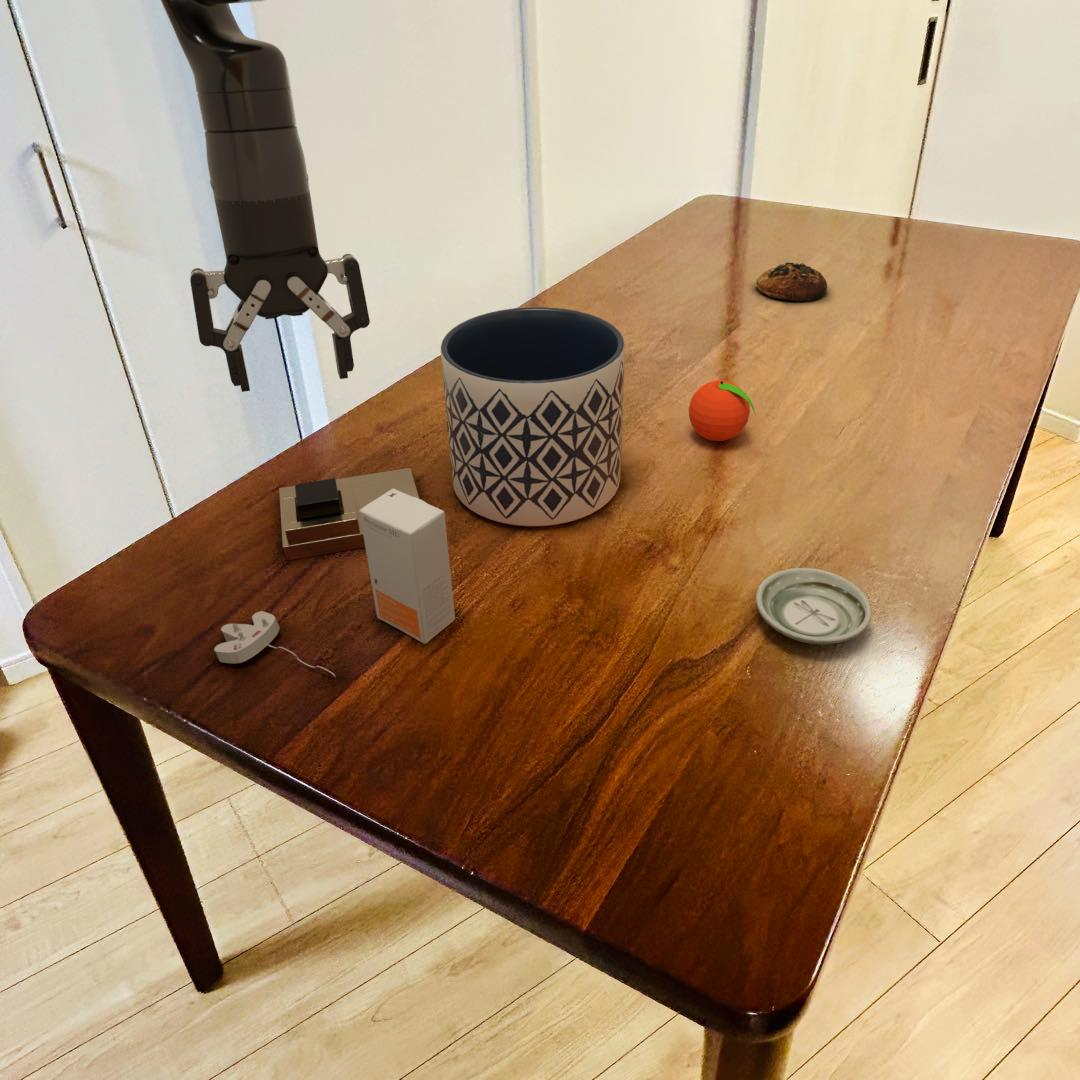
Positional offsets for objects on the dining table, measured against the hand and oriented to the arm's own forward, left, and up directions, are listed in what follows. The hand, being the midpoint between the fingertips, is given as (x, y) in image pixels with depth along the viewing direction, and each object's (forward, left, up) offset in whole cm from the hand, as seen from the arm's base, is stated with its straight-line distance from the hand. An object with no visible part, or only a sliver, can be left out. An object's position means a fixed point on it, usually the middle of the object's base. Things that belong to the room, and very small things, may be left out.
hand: (295, 382), depth 80 cm
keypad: (+3, +3, -17) cm, 18 cm away
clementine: (+46, +7, -18) cm, 50 cm away
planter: (+23, +4, -17) cm, 29 cm away
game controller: (-5, -17, -18) cm, 25 cm away
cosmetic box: (+7, -15, -18) cm, 24 cm away
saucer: (+40, -25, -18) cm, 50 cm away
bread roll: (+76, +47, -18) cm, 91 cm away
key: (0, +1, -14) cm, 14 cm away
